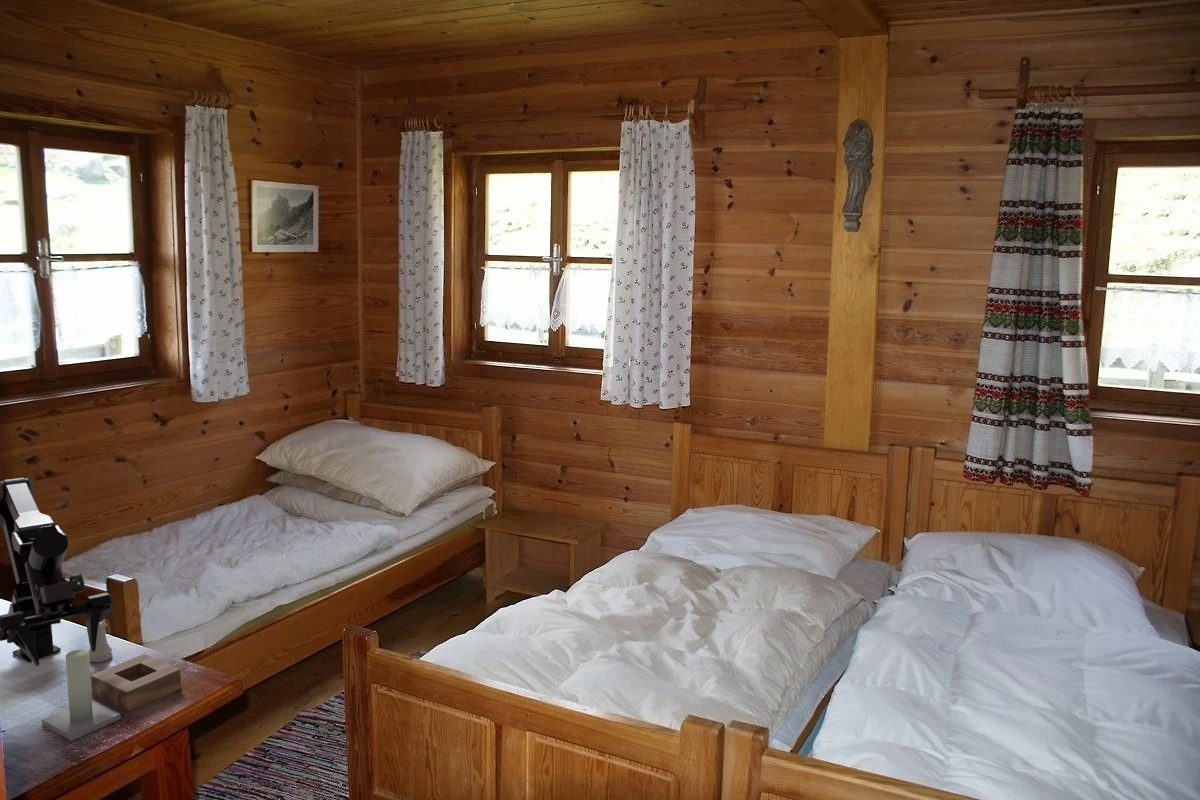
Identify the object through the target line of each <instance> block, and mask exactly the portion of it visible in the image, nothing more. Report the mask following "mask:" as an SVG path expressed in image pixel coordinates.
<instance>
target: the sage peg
mask: <svg viewBox="0 0 1200 800" xmlns="http://www.w3.org/2000/svg"><path fill="white" fill-rule="evenodd" d="M90 663H91V661H90V660H89V650H88V649H75V650H72V651H69V652H68V653H67V654H66V655H65V666H66V667H65V668H66V678H67V679H66V682H67V696H68V698H67V699H68V708H69V714H70V720H71V721H73V722H81V721H85V720H88V719H89V718H91V717H92V715H93V711H92V700H93V697H92V696H93V695H92V689H91V665H90Z"/></svg>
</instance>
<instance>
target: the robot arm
mask: <svg viewBox="0 0 1200 800" xmlns="http://www.w3.org/2000/svg"><path fill="white" fill-rule="evenodd" d="M33 485H34V484H33V482H32V481H29V478H25V477H17V478H11V479H3V480H2V481H0V527H2V528H3V532H4V536H5V540H6V544H7V549H8V553H9V558H10V561H11V566H12V569H13V575H14V577H15V582H16V585H15V588H14V590H13V594H12V599H11V603H10V604H9V608H8V612H7V613H5V614H0V642H3V641H6V643H7V644H12V643H13V644H14V645H16V646H17V647H18V649H16V650H13V651H12V655H13V656H15V657H17V658H20V659H22V660H23V661H26V662H28V663H32V664H34V665H35V667H39V666H40V659H43V658H45V657H46V658H47V657H49V656H51V655H53V654H56V653H59V652H61V651H62V648H61V647H58V645H57V646H56V644H55V645H54V641H53V640H54V639H53V629H52V628H53V627H52V626H53V625H57V624H61V621H62V620H65V619H69V618H74V617H78V616H82V615H85V618H86V621H85V625H86V632H87V636H88V637H87V638H88V642H89V647H91V650H92V652H95V650H96V641H97V631H98V625H99V622H102V621H103V620H105V618H107V617H108V616H110V615H111V612H112V610H113V608H114V605H115V602H114V600H113V596H112V595H111V594H110V593H109V592H103V593H98V594H94V595H89V596H87V597H86V601H85V603H81V604H78V605H72V604H74V603H75V598H76V594H78V593H81V592H84V591H85V590H86V585H85V581H84V577H83V574H82V573H80V574H76V575H75V574H74V575H70V576H69V580H66V577H65V575H64V572H63V566H62V565H63V564H64V561H65V558H66V557H65V556H66V553H67V550H68V545H69V540H68V537H67V534H66V533H65V532H64V531H63V530H62V529H61V528H60V526H59V525H58V524H55V521H54V520H53V519H52V517H51V516H50V515H48V514H44V513H41V511H40V508H39V506H38V504H37V502H36V496H35V491H34V490H35V489H34V486H33Z"/></svg>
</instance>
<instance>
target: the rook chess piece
mask: <svg viewBox="0 0 1200 800" xmlns="http://www.w3.org/2000/svg"><path fill="white" fill-rule="evenodd" d="M107 627H108V623H107V622H106V619H104V620H103V621H102V622H99V625H98V631H97V641H96V650H95V652H92V650H91V647H90V646H89V647H90V648H89V650H88V651H89V660H90V663H95V662H97V663H96V664H98V663H103V661H104V662H106V661H109V660H110V659H111V658H112V656H113V652H112V651H113V650H112V647H111V646H110V645H109V643H108V640H107V635H106V634H107V630H106V628H107Z"/></svg>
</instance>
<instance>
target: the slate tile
mask: <svg viewBox="0 0 1200 800" xmlns="http://www.w3.org/2000/svg"><path fill="white" fill-rule="evenodd" d="M92 711H93V715H92V717H91V718H89V719H88V720H85V721H81V722H73V721H71V720H70V714H69V707H68V708H65V710H62V711H60V712H57V713H55V714H53V715H52V714H51V715H50V716H47V717H45V718H42V719H41V726H44V727H45V728H47V729H49V730H51V731H53V732H54V733H57V734H58V735H60V736H62V737H64V738H65V739H67V740H70V741H71V742H73V741H74V740H77V739H79V738H81V737H83V736H85V735H88V734H90V733H92V732H94V731H97V730H99V729H101V728H103V727H105V726H108V725H110V724H112V723H114V722H115V723H116V722H117V721H119V720H121V719H122V716H121V713H120V712H118V711H116V710H115V709H113V708H112V709H111V708H110V707H108V706H106V705H104V704H102V703H100V702H98V701H95V700H94V699H92Z"/></svg>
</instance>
